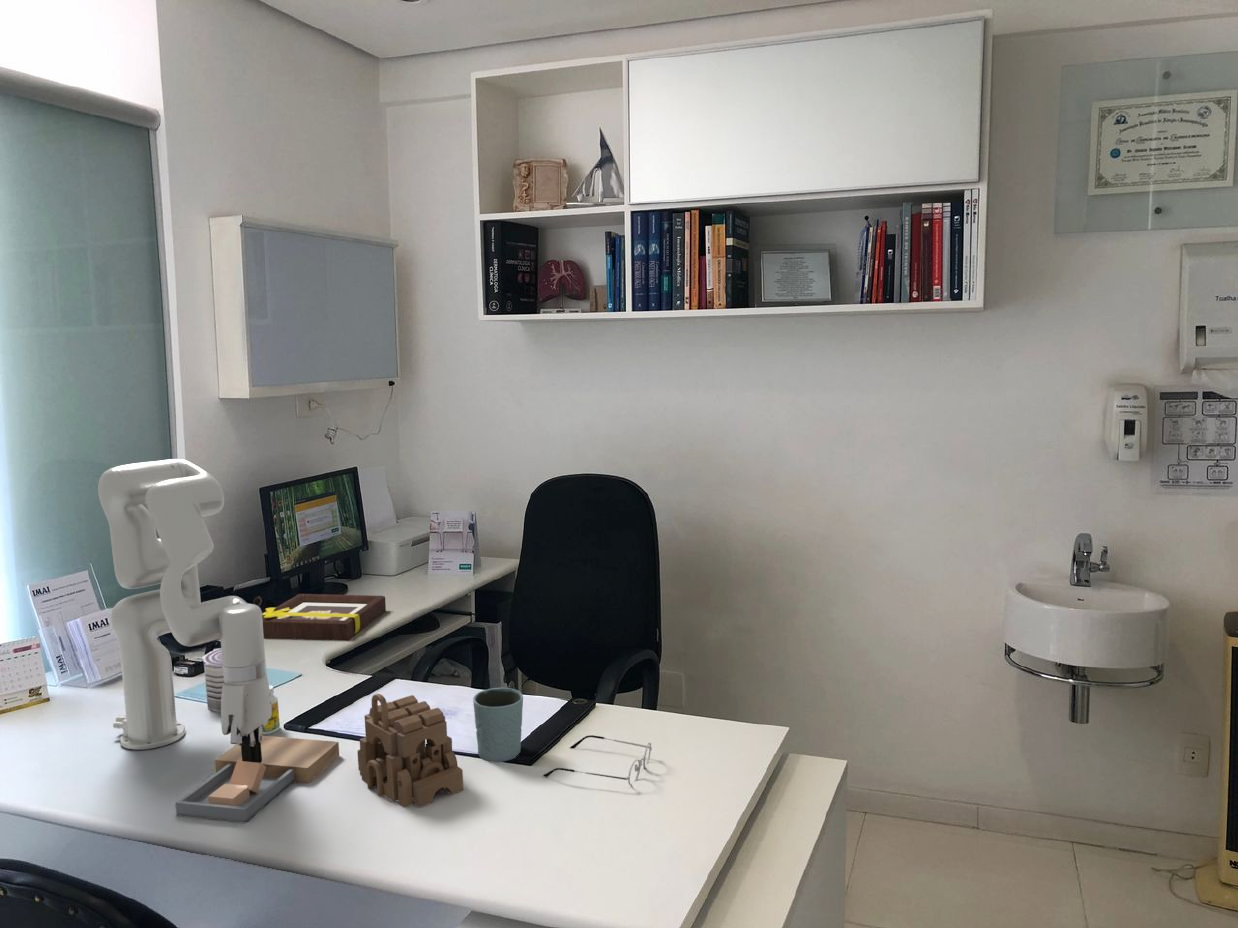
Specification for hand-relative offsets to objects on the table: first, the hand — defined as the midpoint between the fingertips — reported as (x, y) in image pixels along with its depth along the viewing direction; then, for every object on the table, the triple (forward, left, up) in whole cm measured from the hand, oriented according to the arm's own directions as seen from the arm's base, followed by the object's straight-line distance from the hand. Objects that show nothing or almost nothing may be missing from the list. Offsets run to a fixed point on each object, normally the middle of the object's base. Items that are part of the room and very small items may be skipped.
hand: (252, 763), depth 186 cm
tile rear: (0, -1, -2) cm, 3 cm away
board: (0, +9, -5) cm, 10 cm away
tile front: (0, -7, -2) cm, 8 cm away
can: (-29, +37, -5) cm, 48 cm away
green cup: (+42, +22, -5) cm, 47 cm away
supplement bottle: (-12, +24, -5) cm, 28 cm away
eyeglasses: (+63, +19, -5) cm, 66 cm away
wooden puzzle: (+28, +8, -5) cm, 30 cm away
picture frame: (-40, +97, -5) cm, 104 cm away
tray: (0, -5, -5) cm, 7 cm away
